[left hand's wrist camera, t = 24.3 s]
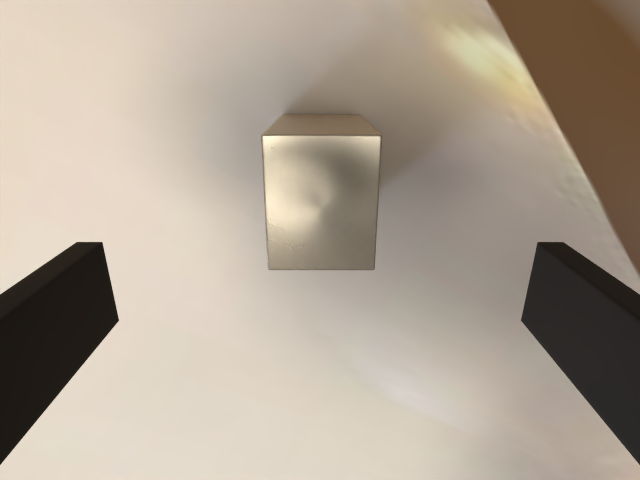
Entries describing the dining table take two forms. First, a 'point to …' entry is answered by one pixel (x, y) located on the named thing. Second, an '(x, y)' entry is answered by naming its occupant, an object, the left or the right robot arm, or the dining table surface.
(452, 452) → the dining table surface
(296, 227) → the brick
